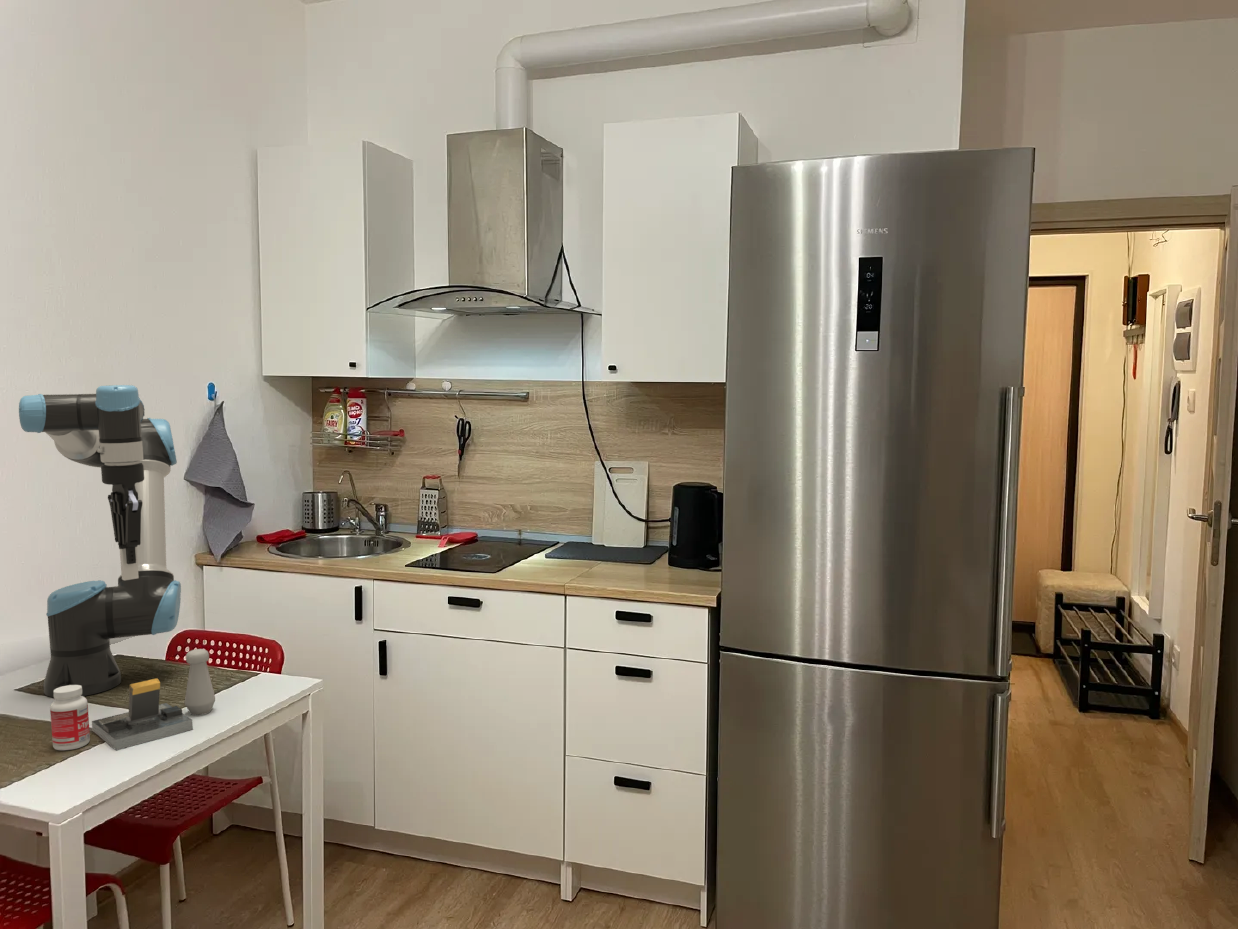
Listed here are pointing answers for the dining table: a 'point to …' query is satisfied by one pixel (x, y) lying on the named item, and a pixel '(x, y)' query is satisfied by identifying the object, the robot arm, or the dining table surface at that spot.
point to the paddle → (144, 700)
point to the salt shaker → (199, 683)
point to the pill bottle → (69, 718)
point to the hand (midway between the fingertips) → (130, 578)
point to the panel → (141, 727)
